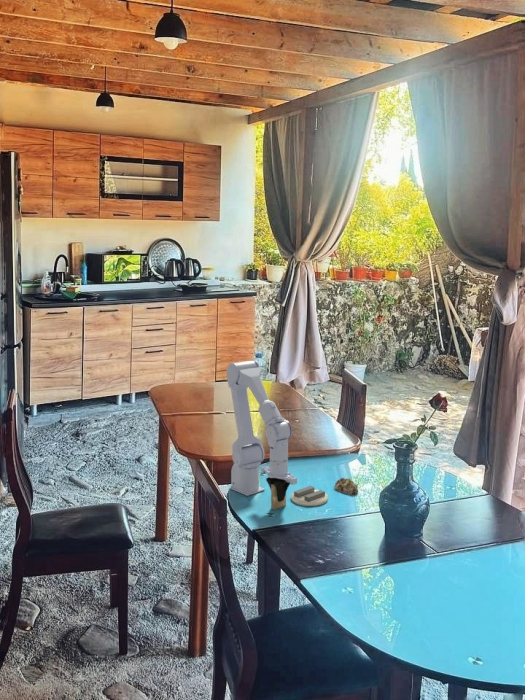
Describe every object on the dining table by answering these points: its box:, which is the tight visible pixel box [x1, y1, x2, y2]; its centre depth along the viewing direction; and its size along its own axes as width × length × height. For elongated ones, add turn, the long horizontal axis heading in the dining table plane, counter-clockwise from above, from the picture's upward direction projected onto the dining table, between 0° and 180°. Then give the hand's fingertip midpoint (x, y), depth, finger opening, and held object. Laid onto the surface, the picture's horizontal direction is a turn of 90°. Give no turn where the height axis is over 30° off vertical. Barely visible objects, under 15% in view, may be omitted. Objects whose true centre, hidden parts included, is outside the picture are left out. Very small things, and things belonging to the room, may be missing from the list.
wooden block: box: [270, 483, 287, 511], centre depth 232 cm, size 2×5×8 cm, turn 132°
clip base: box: [290, 485, 329, 507], centre depth 239 cm, size 12×12×2 cm
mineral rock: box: [333, 477, 359, 496], centre depth 247 cm, size 11×4×8 cm
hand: (278, 499), depth 232 cm, fingers closed on wooden block, 2 cm apart
